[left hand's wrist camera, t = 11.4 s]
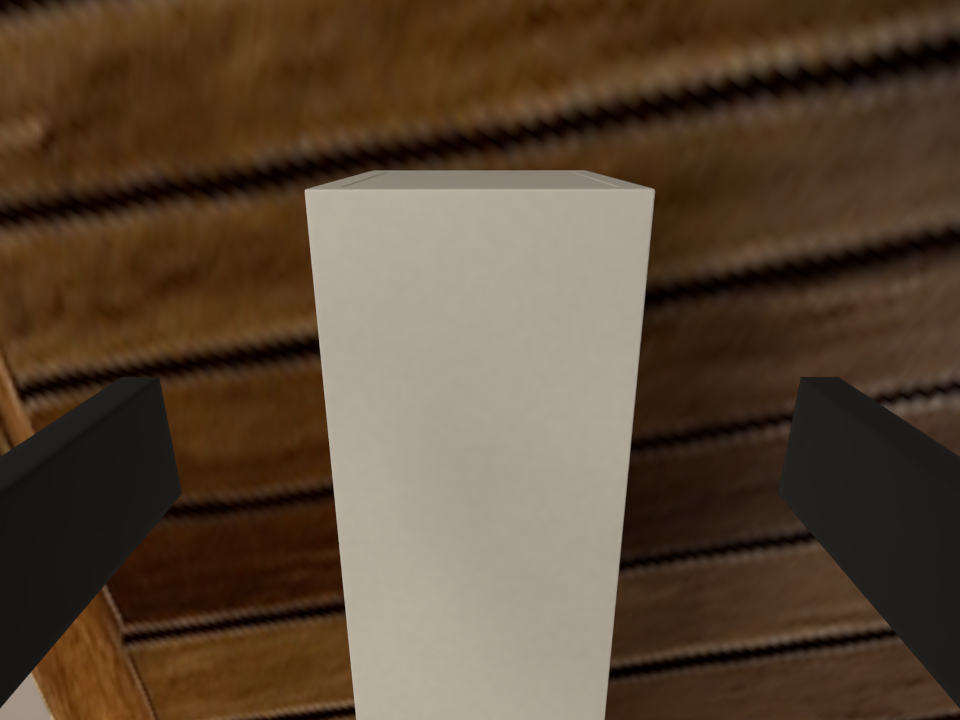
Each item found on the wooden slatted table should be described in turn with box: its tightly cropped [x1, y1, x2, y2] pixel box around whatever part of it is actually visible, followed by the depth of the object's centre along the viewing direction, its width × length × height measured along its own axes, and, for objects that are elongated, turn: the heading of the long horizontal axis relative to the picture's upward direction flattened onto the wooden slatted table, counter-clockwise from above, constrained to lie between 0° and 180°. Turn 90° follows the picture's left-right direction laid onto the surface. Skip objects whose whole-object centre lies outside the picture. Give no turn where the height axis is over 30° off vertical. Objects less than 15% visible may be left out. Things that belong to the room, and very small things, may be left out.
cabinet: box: [305, 170, 655, 720], centre depth 26 cm, size 22×10×12 cm, turn 0°
